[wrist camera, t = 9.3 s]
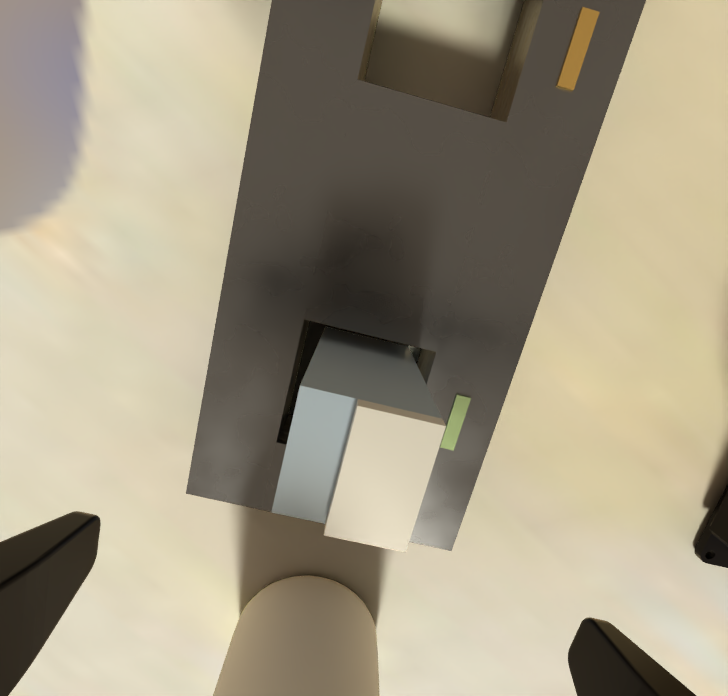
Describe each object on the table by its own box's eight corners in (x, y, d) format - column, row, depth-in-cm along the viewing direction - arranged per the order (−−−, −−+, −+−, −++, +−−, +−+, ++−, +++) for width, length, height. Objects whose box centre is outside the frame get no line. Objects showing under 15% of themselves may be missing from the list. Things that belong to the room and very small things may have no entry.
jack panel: (636, -76, 16) (700, -151, 13) (439, 510, 22) (451, 552, 19) (328, -177, 15) (320, -281, 12) (210, 459, 21) (185, 494, 18)
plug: (408, 346, 20) (445, 426, 11) (386, 423, 21) (405, 552, 12) (325, 326, 20) (297, 391, 11) (307, 404, 20) (267, 523, 12)
